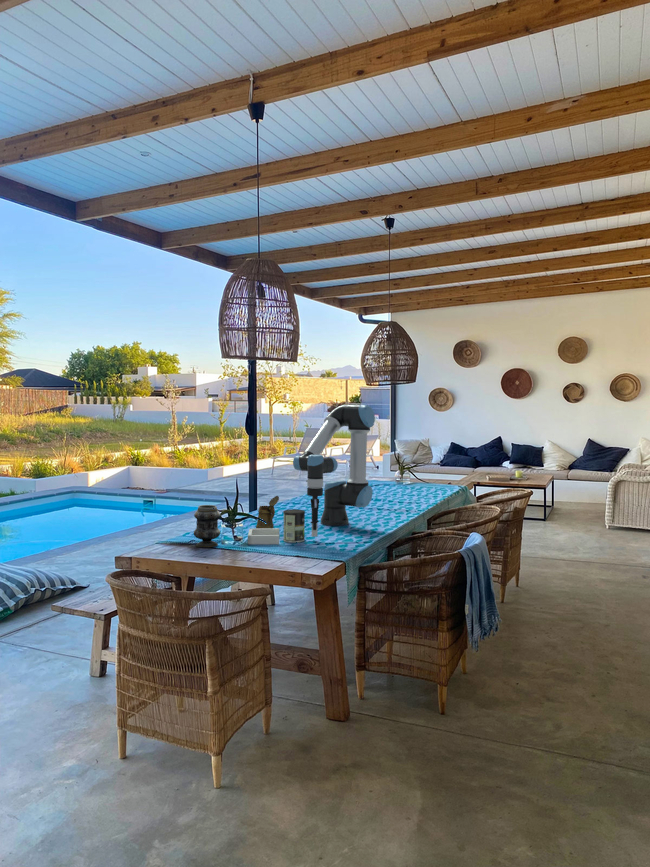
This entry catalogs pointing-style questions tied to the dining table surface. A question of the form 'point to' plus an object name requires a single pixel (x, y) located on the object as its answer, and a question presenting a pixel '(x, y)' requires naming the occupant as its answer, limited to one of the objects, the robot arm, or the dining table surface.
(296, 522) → the coffee can
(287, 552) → the dining table surface
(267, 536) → the tray
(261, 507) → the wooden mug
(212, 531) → the stone vase
